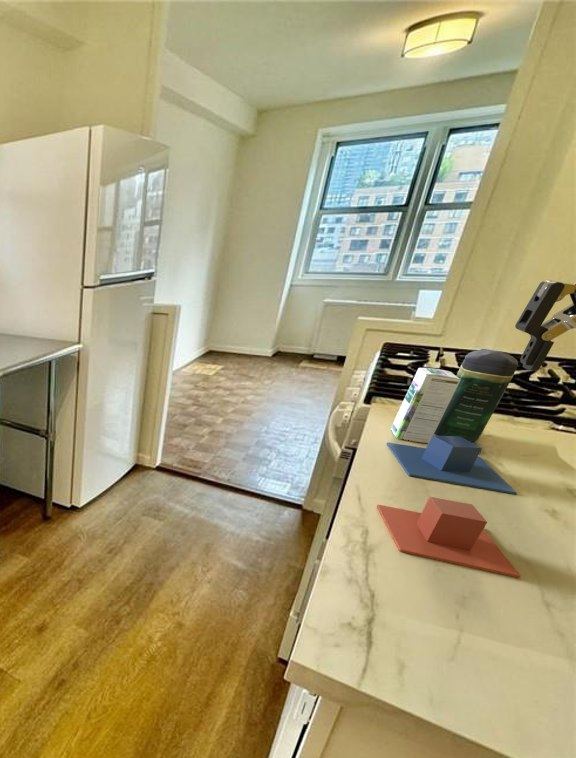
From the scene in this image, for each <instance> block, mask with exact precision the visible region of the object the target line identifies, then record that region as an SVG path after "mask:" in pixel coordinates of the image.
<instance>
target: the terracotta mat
mask: <svg viewBox="0 0 576 758" xmlns="http://www.w3.org/2000/svg"><path fill="white" fill-rule="evenodd" d="M376 508H377V510H378V511H379V514H380V516H381V517H382V520H383V521H384V524H385V526H386V528H387V530H388V531H389V533H390V535H391V537H392V539H393V541H394V543H395V544H396V547H397V549H398V551H399V552H400V553H405V554H410V555H413V556H414V555H415V556H419V557H422V558H427V559H432V560H437V561H441V562H445V563H450V564H454V565H460V566H463V567H468V568H473V569H477V570H482V571H486V572H490V573H495V574H500V575H504V576H509V577H512V578H517V579H520V578H521V577H522V575H521V574H520V573H519V571H518V570H517V568H515V566H514V565H513V564H512V563H511V562H510V560H509V559H508V558H507V557H506V555H505V554H504V553H503V552H502V550H501V549H500V548H499V547H498V545H497V544H496V543H495V542H494V540H493V539H492V538H491V537H490V535H489V534H488V533H487V532H486V530H484V529H485V528H484V529H483V531H482V532H481V534H480V536H479V537H478V539H477V541H476V542H475V544H474V546H473V547H472V549H471V551H469V550H464V549H460V548H455V547H450V546H446V545H441V544H436V543H431V542H427V541H426V539H425V537H424V536H423V534H422V533H421V531H420V529H419V528H418V526H417V524H416V523H417V521H418V519H419V517H420V515H421V513H422V512H420V511H419V512H418V511H414V510H408V509H403V508H398V507H394V506H389V505H383V504H376Z"/></svg>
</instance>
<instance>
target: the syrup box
mask: <svg viewBox="0 0 576 758" xmlns="http://www.w3.org/2000/svg"><path fill="white" fill-rule="evenodd" d="M460 380H461V379H460V378H458V377H457V376H456V375H455V374H454V373H453V372H452V371H449V370H445V369H438V368H432V367H418V368H417V370H416V373H415V374H414V376H413V380H412V381H411V384H410V386H409V388H408V390H407V392H406V394H405V396H404V398H403V400H402V403H401V405H400V407H399V408H398V409H399V410H398V412H397V414H396V415H395V418H394V421H393V423H392V425H391V428H390V431H391V430H392V431H391V432H392V434H393V435H394V436H395V438H396V439H397V440H402V439H404V440H403V441H408V440H409V441H408V442H416V443H423V444H429V442H430V440H431V437H432V436H433V435H435V434H434V433H435V430H436V429H437V427H438V425H439V423H440V420H441V418H442V417H443V415H444V412H445V410H446V408H447V406H448V404H449V403H450V401H451V399H452V397H453V394H454V392H455V390H456V388H457V386H458V384H459V382H460Z"/></svg>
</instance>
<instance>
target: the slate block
mask: <svg viewBox="0 0 576 758" xmlns="http://www.w3.org/2000/svg"><path fill="white" fill-rule="evenodd" d="M425 448H426V450H425V452H424V454H423V456H422V459H423V460H425V461H426V462H428V463H430V464H431V465H433V466H434V467H436V468H438V469H439V470H441V471H458V472H470V470H471V468H472V467H473V465H474V463H475V461H476V459H477V457H478V456H480V454H481V452H482V450H483V447H481V446H479V445H478V444H476V443H475V442H474V443H472V442H470V441H468V440H466V439H464V438H462V437H460V436H438V435H435V434H433V436H432V437H431V440H430V442H429V443H427V446H426V447H425Z"/></svg>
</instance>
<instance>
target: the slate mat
mask: <svg viewBox="0 0 576 758" xmlns="http://www.w3.org/2000/svg"><path fill="white" fill-rule="evenodd" d="M386 445H387V447H388V446H389V447H388V448H389V450H390V449H391V450H390V451H391V453H392V454H393V455H394V457H395V458H396V461H398V463H399V465H400V466H401V467H402V469H403V470H404V471H405V473H406V474H407V476H408V477H413V478H419V479H423V480H430V481H435V482H442V483H447V484H453V485H459V486H464V487H469V488H476V489H482V490H489V491H493V492H499V493H506V494H511V495H517V494H518V492H517V491H516V490H515V489H514V488H513V487H512V486H511V485H510V484H509V483H508V482H507V481H506V480H505V479H504V478H503V477H501V476H500V475H499V474H498V472H496V471H495V469H493V468H492V467H491V466H490V465H489V464H488V463H487V462H486V461H485V460H484V459H483V457H481V456H480V455H478V457H477V459H476V461H475V463H474V465H473V467H472V468H471V470H470V472H458V471H441V470H439V469H438V468H436V467H434V466H433V465H431V464H430V463H428V462H426V461H425V460H423V459H422V456H423V454H424V452H425V450H426V448H427V447H422V446H421V447H420V446H414V445H409V444H401V443H394V442H388V441H387V442H386Z"/></svg>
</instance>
